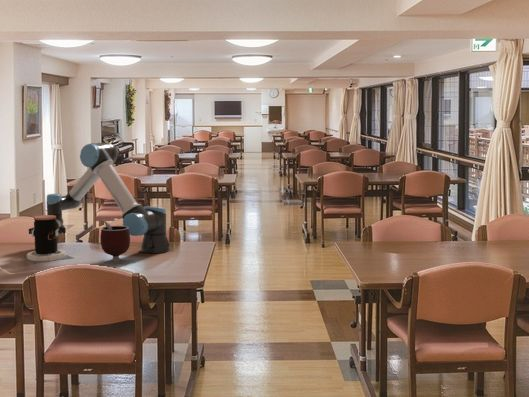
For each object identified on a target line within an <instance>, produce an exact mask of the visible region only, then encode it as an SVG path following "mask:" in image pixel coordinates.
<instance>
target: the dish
mask: <svg viewBox="0 0 529 397" xmlns="http://www.w3.org/2000/svg"><path fill="white" fill-rule="evenodd" d="M26 255H27V259H29V260H32V261H51V260H58V259H62V258H65V256H66V255H67V252H66V250H63V249H58V248H57V251H56V253H53V254H37V253H36V252H35V250H32V251H29V252H27V254H26ZM58 261H59V260H58ZM51 262H52V261H51Z"/></svg>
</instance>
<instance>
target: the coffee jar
mask: <svg viewBox="0 0 529 397" xmlns="http://www.w3.org/2000/svg"><path fill="white" fill-rule="evenodd" d="M55 219H56V216H55V215H47V214H43V215H35V216H33V220H34V222H33V227H34V251H35V252H36V253H37V254H53V253H56V251H57V249H58V236H56V230H57V227H56V220H55Z"/></svg>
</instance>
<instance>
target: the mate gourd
mask: <svg viewBox="0 0 529 397" xmlns="http://www.w3.org/2000/svg"><path fill="white" fill-rule="evenodd" d="M102 222H103V223H104V224H105V226H104V227H101V228H100V229H101V231H100V246H101V249H102V250H103V252H104V254H107V255H110V256H112V259H108V260H104V261H103V262H102V265H104V266H107V267H120V266H125V265H128V264H130V261H129V260H127V259H123V258H120V256H121V255H123V254H125V253H127V251H128V250H129V249H130V244H131V235H130V232H129V227H126V226H123V225H111V224H110V223H109V222H108V221H106V220H102Z"/></svg>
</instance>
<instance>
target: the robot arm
mask: <svg viewBox="0 0 529 397" xmlns="http://www.w3.org/2000/svg"><path fill="white" fill-rule="evenodd" d="M79 159H80V162H81V164H82V165H83V166H84V167H86V168H88V169H87V170H86V171H85V172H84V174H82V176H81V177H80V178H79V179H78V180H77V181H76V183H75V184H74V186H73V187H72V188H71V189H70V191H69V192H68V193H67V194H66V195H62V194H61V193H48V194H47V195H46V211H47V212H46V213H47V214H46V215H55V216H56V219H55V220H56V227H57V230H56V236H57V237H59V235H60V234H66V233H67V232H66V231H67V230H66V227H65V225H64V220H63V211H66V210H71V209H72V210H73V209H77V208H79V207H80V206H81V204H82V199H83V198H84V197H85V195H86V194H87V193H88V192H89V190H90V189H92V187H93V186H94V185H95V183H97V182H98V180H99V179H100V180H101V182H102V183H103V184H104V186H105V188H106V189H107V191H108V192H109V194H110V196H111V197H112V199H113V200H114V201H115V203H116V205H117V206H118V208H119V210H120V211H121V213H122V215H121V218H122V226H126V227H129V232H130V236H134V237H141V236H143V237H142V242H141V246H140V252H142V253H145V254H147V253H148V254H162V253H167V252H170V251H171V244H170V242H169V239H168V236H167V210H166V208H165V207H164V206H163V207H162V206H143V205H142V204H141V203H138V202H137V201H136V199H135V197H134V196H133V195H132V193H131V192H130V190H129V188H128V187H127V186H126V184H125V183H124V181H123V179H122V178H121V176H120V175H119V173H118V172H117V170H116V169H115V166H114V164H115V163H116V161H117V159H118V150H117V148H116V146H115V145H113V143H110V142H106V141H105V142H96V143H94V142H92V143H87V144H85V145H84V146H83V147H82V148H81V149H80V154H79ZM28 235H31V237H32V238H33V237H34V226H33V227H30V228H28ZM34 238H35V237H34Z"/></svg>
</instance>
